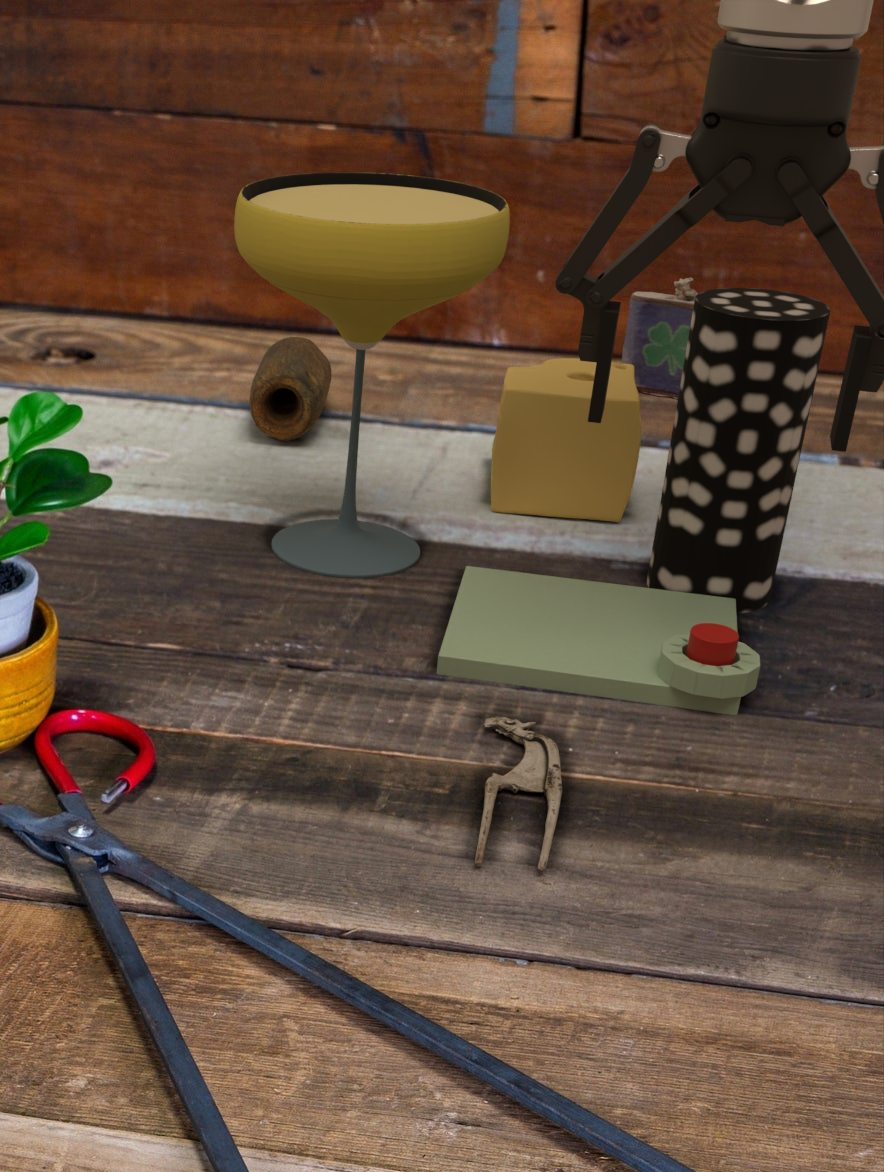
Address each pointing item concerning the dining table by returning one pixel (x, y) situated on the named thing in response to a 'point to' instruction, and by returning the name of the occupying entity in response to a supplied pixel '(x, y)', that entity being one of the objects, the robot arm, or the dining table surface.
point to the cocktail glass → (365, 301)
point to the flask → (659, 338)
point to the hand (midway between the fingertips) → (714, 430)
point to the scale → (592, 640)
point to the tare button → (712, 644)
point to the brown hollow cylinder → (290, 388)
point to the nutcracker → (525, 780)
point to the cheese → (565, 442)
